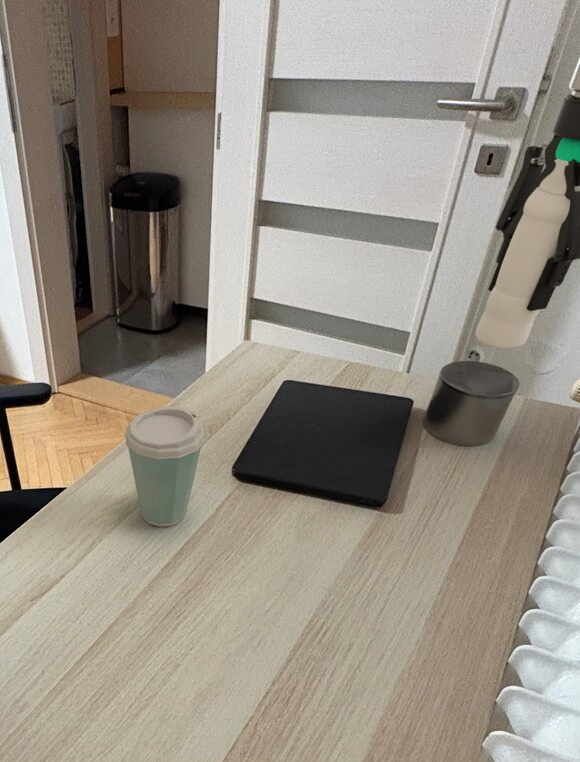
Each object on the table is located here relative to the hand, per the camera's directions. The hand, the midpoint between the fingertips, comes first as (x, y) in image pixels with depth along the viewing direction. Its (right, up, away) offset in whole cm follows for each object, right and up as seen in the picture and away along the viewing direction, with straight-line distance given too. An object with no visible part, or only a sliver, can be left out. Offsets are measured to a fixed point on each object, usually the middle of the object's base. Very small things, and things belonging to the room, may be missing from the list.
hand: (516, 298), depth 89 cm
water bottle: (0, -4, +4) cm, 6 cm away
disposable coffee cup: (-51, -31, +3) cm, 59 cm away
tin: (+1, -14, +17) cm, 22 cm away
